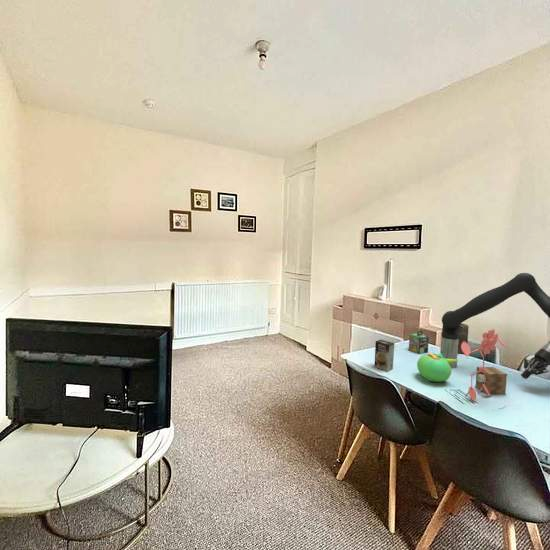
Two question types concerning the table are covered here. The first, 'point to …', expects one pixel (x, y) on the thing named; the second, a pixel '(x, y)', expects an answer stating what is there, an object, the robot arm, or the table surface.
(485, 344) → the pink flower sprig
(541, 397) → the table surface
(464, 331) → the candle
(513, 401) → the table surface
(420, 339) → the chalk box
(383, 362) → the coffee box
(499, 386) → the bushing block
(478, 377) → the plunger peg
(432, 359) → the green rounded lump
